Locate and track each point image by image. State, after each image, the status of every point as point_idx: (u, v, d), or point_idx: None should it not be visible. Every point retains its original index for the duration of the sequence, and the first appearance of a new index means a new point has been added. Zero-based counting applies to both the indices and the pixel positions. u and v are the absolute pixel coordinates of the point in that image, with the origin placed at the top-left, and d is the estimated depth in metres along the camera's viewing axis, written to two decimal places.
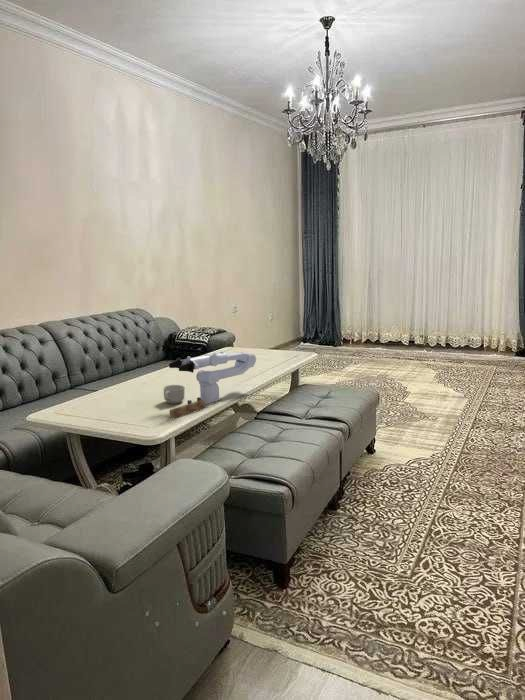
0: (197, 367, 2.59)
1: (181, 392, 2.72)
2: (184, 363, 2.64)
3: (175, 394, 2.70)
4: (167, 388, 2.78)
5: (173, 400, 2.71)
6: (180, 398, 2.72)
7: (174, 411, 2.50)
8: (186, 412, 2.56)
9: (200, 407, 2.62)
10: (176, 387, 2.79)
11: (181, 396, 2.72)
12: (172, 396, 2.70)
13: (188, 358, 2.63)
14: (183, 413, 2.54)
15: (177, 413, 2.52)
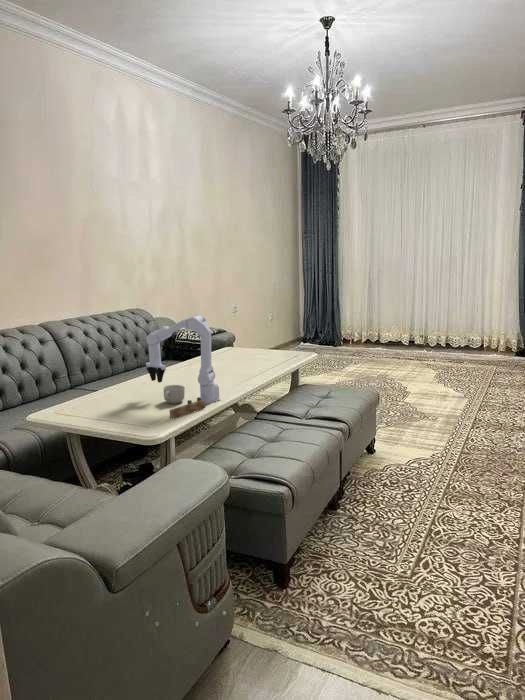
0: (164, 367, 2.75)
1: (181, 392, 2.72)
2: (153, 367, 2.80)
3: (175, 394, 2.70)
4: (167, 388, 2.78)
5: (173, 400, 2.71)
6: (180, 398, 2.72)
7: (174, 411, 2.50)
8: (186, 412, 2.56)
9: (200, 407, 2.62)
10: (176, 387, 2.79)
11: (181, 396, 2.72)
12: (172, 396, 2.70)
13: (151, 366, 2.77)
14: (183, 413, 2.54)
15: (177, 413, 2.52)
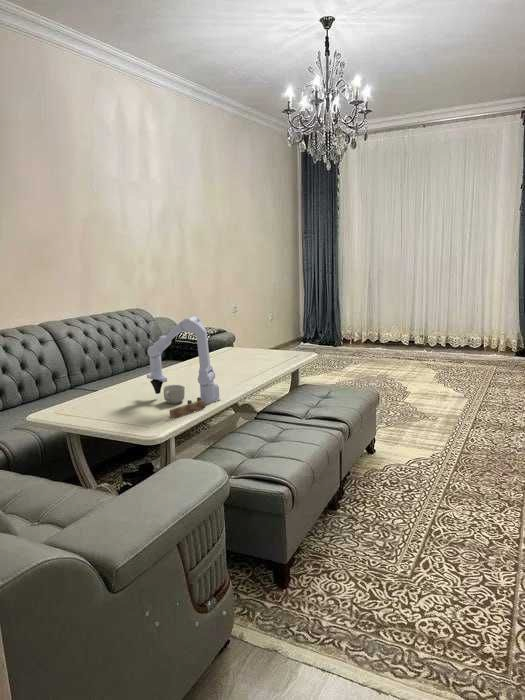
0: (165, 380, 2.76)
1: (181, 392, 2.72)
2: None
3: (175, 394, 2.70)
4: (167, 388, 2.78)
5: (173, 400, 2.71)
6: (180, 398, 2.72)
7: (174, 411, 2.50)
8: (186, 412, 2.56)
9: (200, 407, 2.62)
10: (176, 387, 2.79)
11: (181, 396, 2.72)
12: (172, 396, 2.70)
13: (152, 378, 2.78)
14: (183, 413, 2.54)
15: (177, 413, 2.52)
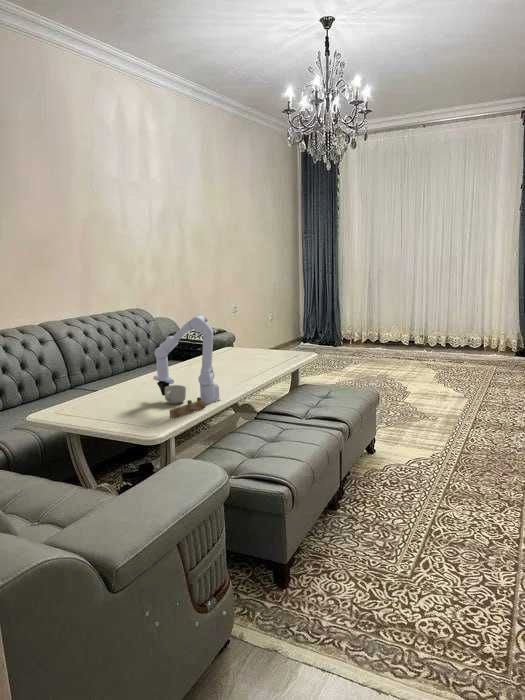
0: (172, 381, 2.72)
1: (183, 392, 2.71)
2: (161, 381, 2.78)
3: (176, 394, 2.69)
4: (168, 388, 2.77)
5: (174, 400, 2.70)
6: (181, 398, 2.71)
7: (174, 411, 2.50)
8: (186, 412, 2.56)
9: (200, 407, 2.62)
10: (178, 388, 2.79)
11: (182, 396, 2.72)
12: (173, 396, 2.69)
13: (158, 380, 2.75)
14: (183, 413, 2.54)
15: (177, 413, 2.52)
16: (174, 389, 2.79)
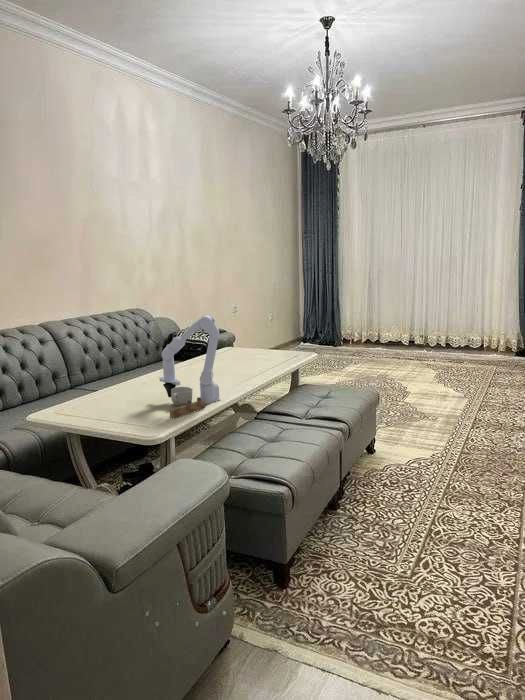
0: (178, 383, 2.69)
1: (189, 393, 2.68)
2: (167, 382, 2.74)
3: (183, 396, 2.66)
4: (174, 390, 2.73)
5: (181, 402, 2.67)
6: None
7: (174, 411, 2.50)
8: (186, 412, 2.56)
9: (200, 407, 2.62)
10: (184, 389, 2.75)
11: (189, 398, 2.68)
12: (180, 398, 2.66)
13: (165, 382, 2.71)
14: (183, 413, 2.54)
15: (177, 413, 2.52)
16: (180, 391, 2.75)
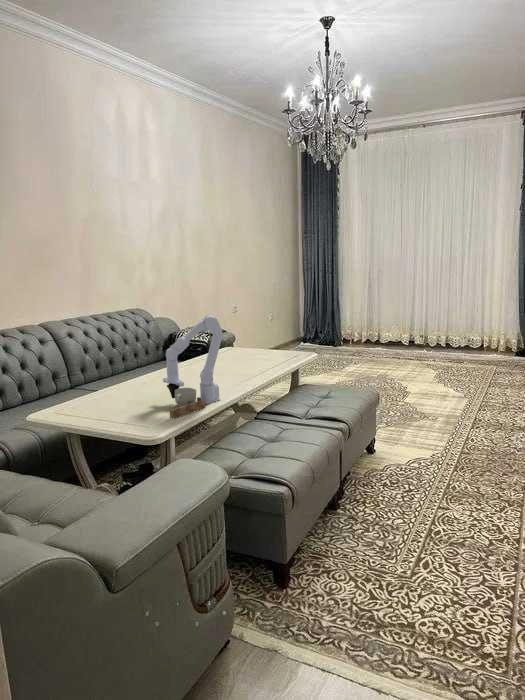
0: (182, 384, 2.67)
1: (193, 395, 2.66)
2: None
3: (187, 397, 2.64)
4: (178, 391, 2.71)
5: (185, 403, 2.65)
6: (192, 401, 2.66)
7: (174, 411, 2.50)
8: (186, 412, 2.56)
9: (200, 407, 2.62)
10: (188, 390, 2.73)
11: (193, 399, 2.66)
12: (184, 399, 2.64)
13: None
14: (183, 413, 2.54)
15: (177, 413, 2.52)
16: (184, 392, 2.73)
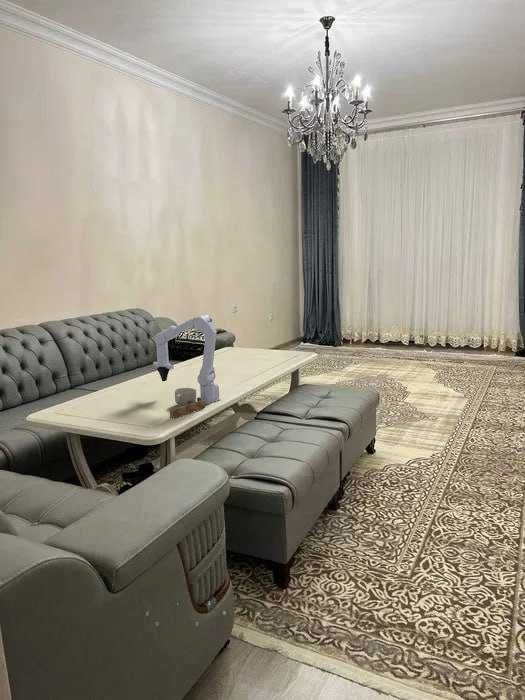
0: (172, 367, 2.75)
1: (193, 395, 2.66)
2: (161, 366, 2.81)
3: (187, 397, 2.64)
4: (178, 391, 2.71)
5: (185, 403, 2.65)
6: (192, 401, 2.66)
7: (174, 411, 2.50)
8: (186, 412, 2.56)
9: (200, 407, 2.62)
10: (188, 390, 2.73)
11: (193, 399, 2.66)
12: (184, 399, 2.64)
13: (158, 366, 2.78)
14: (183, 413, 2.54)
15: (177, 413, 2.52)
16: (184, 392, 2.73)
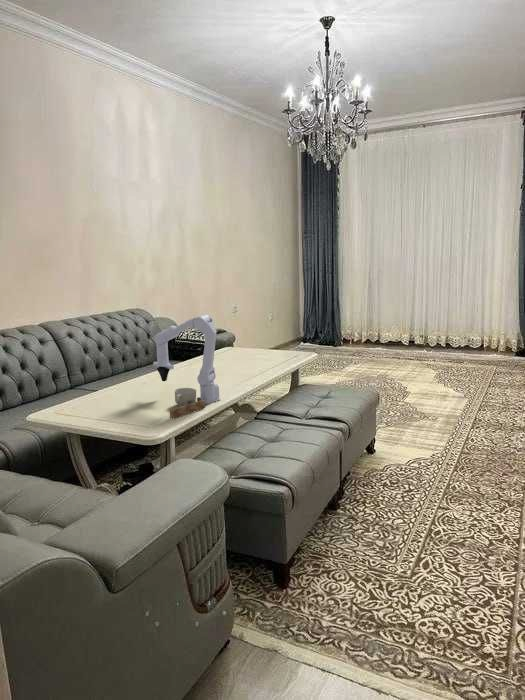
0: (172, 367, 2.75)
1: (193, 395, 2.66)
2: (161, 366, 2.81)
3: (187, 397, 2.64)
4: (178, 391, 2.71)
5: (185, 403, 2.65)
6: (192, 401, 2.66)
7: (174, 411, 2.50)
8: (186, 412, 2.56)
9: (200, 407, 2.62)
10: (188, 390, 2.73)
11: (193, 399, 2.66)
12: (184, 399, 2.64)
13: (158, 366, 2.78)
14: (183, 413, 2.54)
15: (177, 413, 2.52)
16: (184, 392, 2.73)
